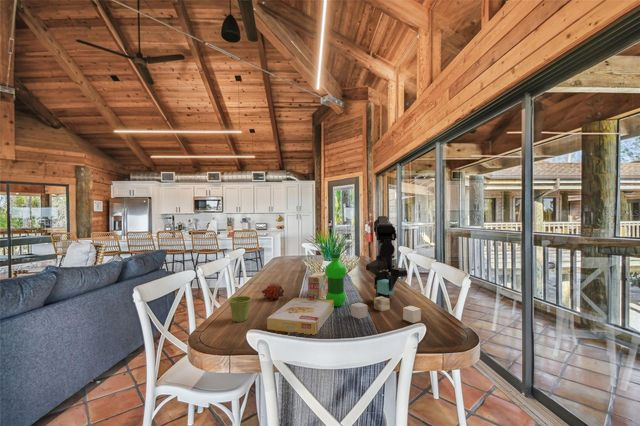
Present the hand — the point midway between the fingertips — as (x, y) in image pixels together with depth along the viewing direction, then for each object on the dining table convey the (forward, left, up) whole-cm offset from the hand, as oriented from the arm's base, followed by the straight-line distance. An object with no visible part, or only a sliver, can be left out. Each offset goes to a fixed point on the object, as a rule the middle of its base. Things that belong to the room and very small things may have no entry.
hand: (385, 289), depth 122 cm
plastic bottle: (-26, -7, -12) cm, 30 cm away
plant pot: (-34, -52, -12) cm, 63 cm away
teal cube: (0, 0, -1) cm, 1 cm away
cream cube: (+8, +7, -12) cm, 16 cm away
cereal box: (-19, -30, -13) cm, 38 cm away
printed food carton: (-45, -3, -12) cm, 47 cm away
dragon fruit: (-53, -28, -12) cm, 61 cm away
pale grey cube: (-8, -8, -12) cm, 17 cm away
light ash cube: (-9, +7, -12) cm, 17 cm away
